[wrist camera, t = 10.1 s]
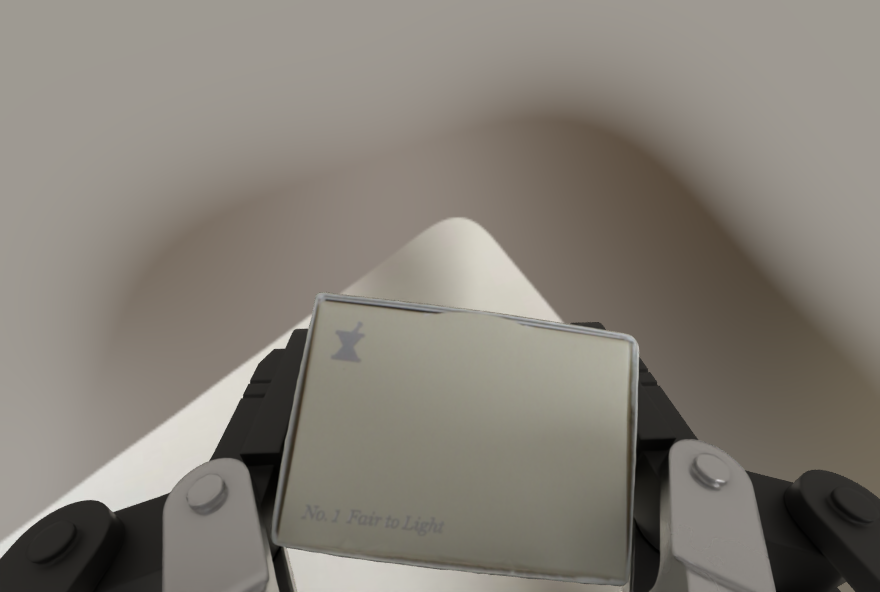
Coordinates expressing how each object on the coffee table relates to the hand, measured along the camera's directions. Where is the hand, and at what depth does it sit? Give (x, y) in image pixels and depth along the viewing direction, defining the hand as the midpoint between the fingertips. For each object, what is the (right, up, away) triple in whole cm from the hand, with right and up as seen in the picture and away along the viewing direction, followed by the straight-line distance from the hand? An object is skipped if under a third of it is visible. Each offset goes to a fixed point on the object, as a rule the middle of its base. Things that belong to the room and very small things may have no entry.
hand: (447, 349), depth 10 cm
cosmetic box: (0, -3, +8) cm, 9 cm away
